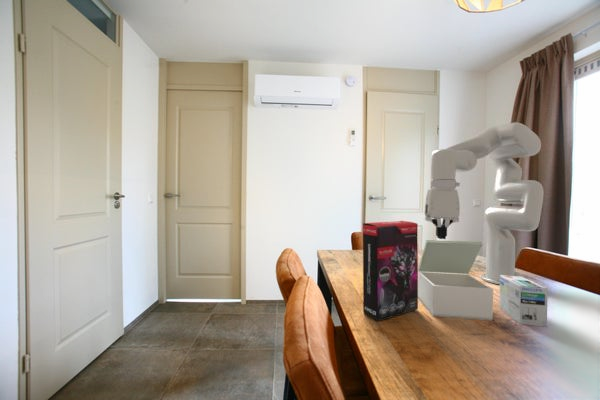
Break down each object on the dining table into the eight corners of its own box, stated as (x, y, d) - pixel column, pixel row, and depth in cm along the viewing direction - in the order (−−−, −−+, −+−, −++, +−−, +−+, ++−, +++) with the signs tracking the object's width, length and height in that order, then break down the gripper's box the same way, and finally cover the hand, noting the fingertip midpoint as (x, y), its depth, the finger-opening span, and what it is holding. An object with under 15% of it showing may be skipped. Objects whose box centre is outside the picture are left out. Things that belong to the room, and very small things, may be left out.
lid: (468, 273, 86) (467, 271, 87) (482, 244, 78) (481, 242, 79) (418, 271, 88) (417, 269, 89) (427, 242, 80) (426, 240, 81)
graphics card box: (377, 323, 70) (378, 224, 70) (360, 312, 76) (361, 222, 76) (418, 310, 78) (420, 222, 78) (400, 302, 84) (401, 220, 84)
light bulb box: (548, 327, 69) (549, 288, 69) (519, 324, 71) (520, 286, 70) (522, 310, 80) (523, 275, 79) (498, 308, 81) (498, 274, 81)
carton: (467, 300, 86) (467, 274, 86) (492, 320, 73) (493, 289, 72) (417, 297, 89) (418, 271, 88) (432, 316, 75) (433, 285, 75)
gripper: (460, 186, 91) (459, 237, 91) (416, 185, 93) (415, 235, 93) (471, 185, 83) (470, 241, 84) (423, 184, 85) (422, 239, 86)
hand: (441, 238), depth 88 cm, fingers closed
